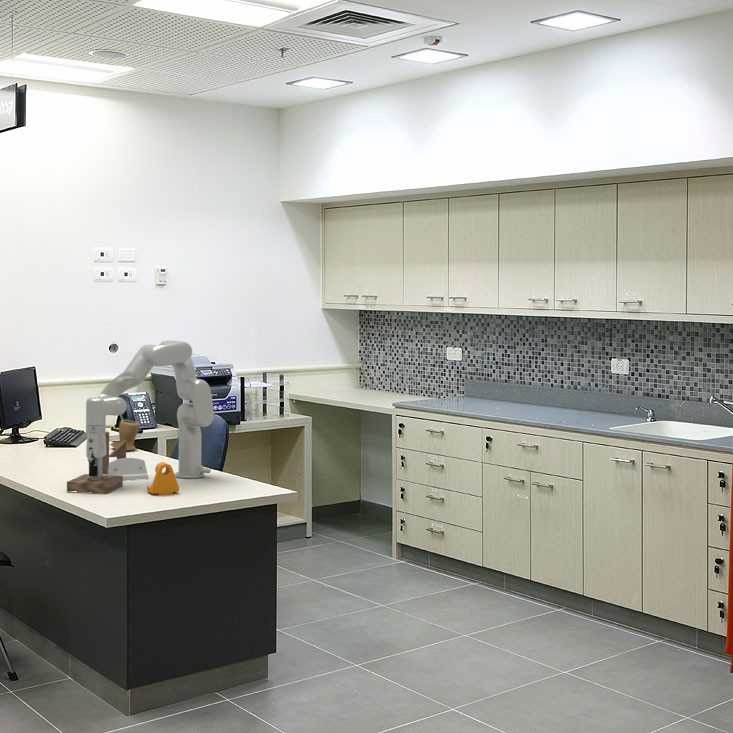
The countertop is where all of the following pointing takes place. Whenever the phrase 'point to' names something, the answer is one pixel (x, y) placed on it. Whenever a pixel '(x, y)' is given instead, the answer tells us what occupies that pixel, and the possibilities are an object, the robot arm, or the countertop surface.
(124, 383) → the robot arm
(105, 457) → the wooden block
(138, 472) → the hinge
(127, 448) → the brown flared piece
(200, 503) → the countertop surface
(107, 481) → the board
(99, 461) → the peg
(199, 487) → the countertop surface
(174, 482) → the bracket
